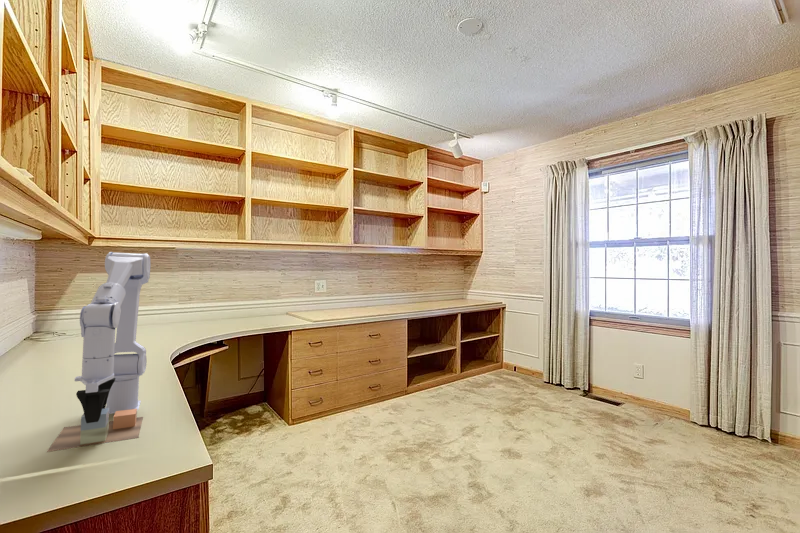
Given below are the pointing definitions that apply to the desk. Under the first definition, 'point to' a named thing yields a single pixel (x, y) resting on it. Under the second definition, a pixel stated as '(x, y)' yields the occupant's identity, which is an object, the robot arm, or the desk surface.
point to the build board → (75, 436)
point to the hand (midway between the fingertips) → (95, 416)
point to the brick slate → (94, 425)
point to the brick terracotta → (124, 418)
